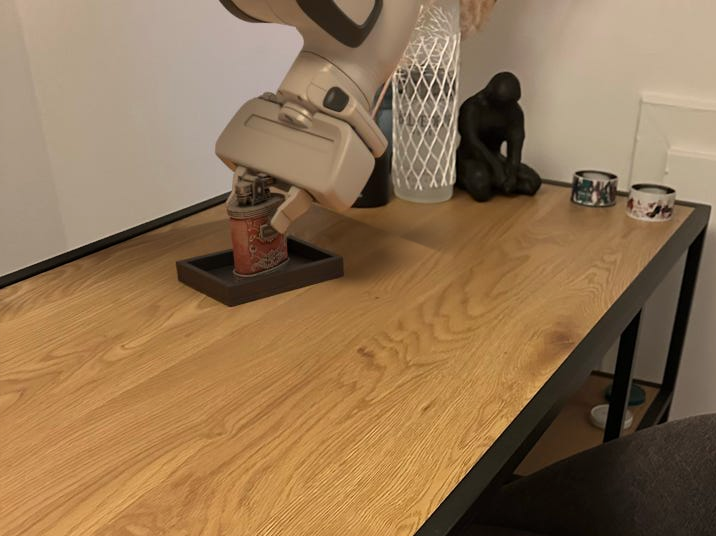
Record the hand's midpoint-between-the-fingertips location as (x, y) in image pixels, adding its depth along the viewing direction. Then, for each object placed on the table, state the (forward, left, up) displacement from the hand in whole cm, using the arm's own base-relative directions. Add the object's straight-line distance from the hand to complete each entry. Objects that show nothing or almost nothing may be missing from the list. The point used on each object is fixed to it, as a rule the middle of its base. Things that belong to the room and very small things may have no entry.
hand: (252, 220), depth 100 cm
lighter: (0, +1, -6) cm, 6 cm away
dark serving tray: (0, +1, -6) cm, 6 cm away
